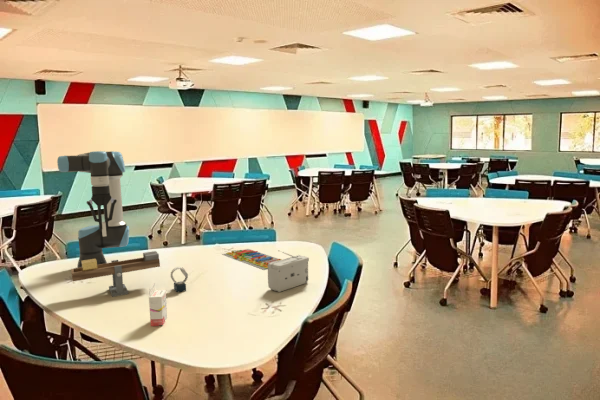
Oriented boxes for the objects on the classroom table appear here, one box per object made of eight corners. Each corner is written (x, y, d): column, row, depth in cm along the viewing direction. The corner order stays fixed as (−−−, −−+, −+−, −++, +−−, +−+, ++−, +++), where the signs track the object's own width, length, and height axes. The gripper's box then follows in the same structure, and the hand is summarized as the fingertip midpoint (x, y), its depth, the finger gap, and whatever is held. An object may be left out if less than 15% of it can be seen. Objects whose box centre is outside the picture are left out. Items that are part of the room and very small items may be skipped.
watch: (190, 289, 219) (189, 267, 218) (173, 293, 215) (171, 270, 214) (187, 286, 224) (185, 264, 223) (170, 289, 220) (168, 267, 219)
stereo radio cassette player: (299, 279, 232) (298, 240, 229) (310, 283, 226) (310, 243, 224) (267, 289, 218) (266, 248, 215) (279, 293, 212) (277, 251, 209)
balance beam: (71, 276, 212) (70, 263, 211) (156, 262, 230) (155, 250, 229) (72, 281, 204) (71, 268, 204) (160, 266, 222) (159, 254, 221)
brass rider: (82, 271, 212) (81, 260, 212) (96, 268, 215) (95, 258, 215) (83, 274, 208) (82, 263, 207) (97, 271, 210) (96, 261, 210)
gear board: (221, 251, 283) (248, 246, 296) (222, 255, 284) (248, 249, 296) (263, 266, 249) (291, 260, 261) (264, 270, 249) (292, 264, 261)
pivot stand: (108, 288, 223) (106, 260, 221) (124, 286, 226) (122, 258, 224) (112, 297, 211) (110, 267, 209) (128, 294, 215) (126, 265, 213)
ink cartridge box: (163, 326, 178) (161, 289, 176) (150, 326, 178) (147, 290, 176) (167, 317, 187) (165, 282, 185) (155, 318, 186) (153, 282, 184)
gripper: (85, 187, 204) (89, 239, 207) (116, 185, 210) (120, 235, 214) (84, 185, 210) (88, 236, 214) (114, 183, 217) (118, 232, 220)
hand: (104, 235), depth 214 cm, fingers closed
